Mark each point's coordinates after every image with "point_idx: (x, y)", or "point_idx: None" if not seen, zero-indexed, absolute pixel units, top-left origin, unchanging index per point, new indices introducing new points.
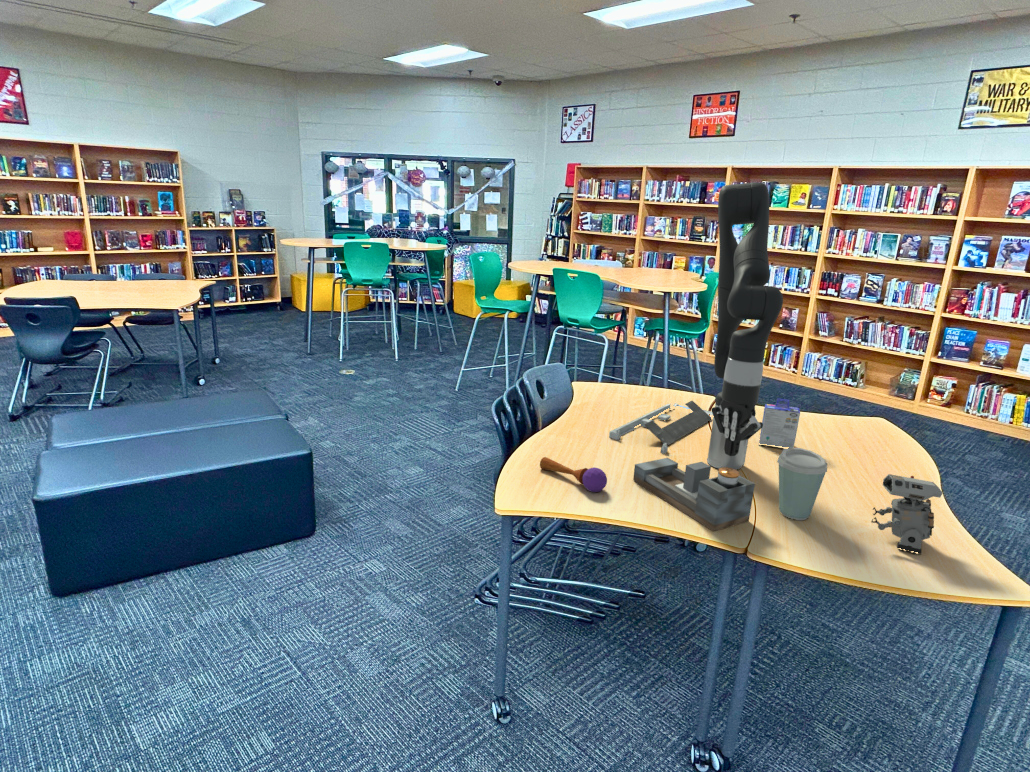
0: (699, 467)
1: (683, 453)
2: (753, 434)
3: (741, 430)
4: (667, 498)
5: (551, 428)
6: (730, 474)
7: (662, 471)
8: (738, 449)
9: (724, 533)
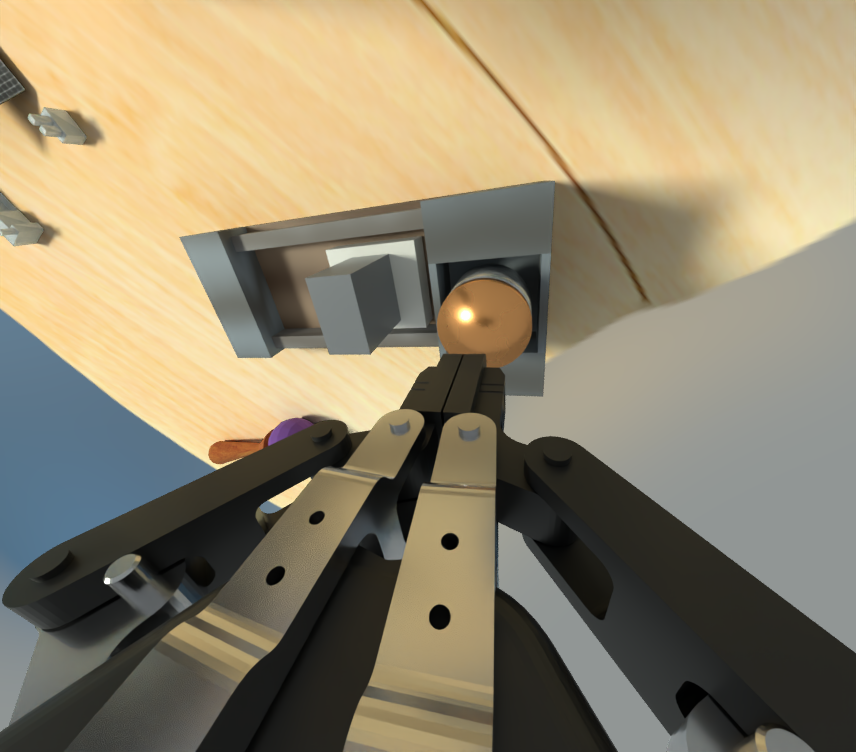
0: (353, 325)
1: (57, 45)
2: (682, 533)
3: (496, 530)
4: None
5: (45, 343)
6: (510, 344)
7: (256, 291)
8: (503, 388)
9: (560, 313)
